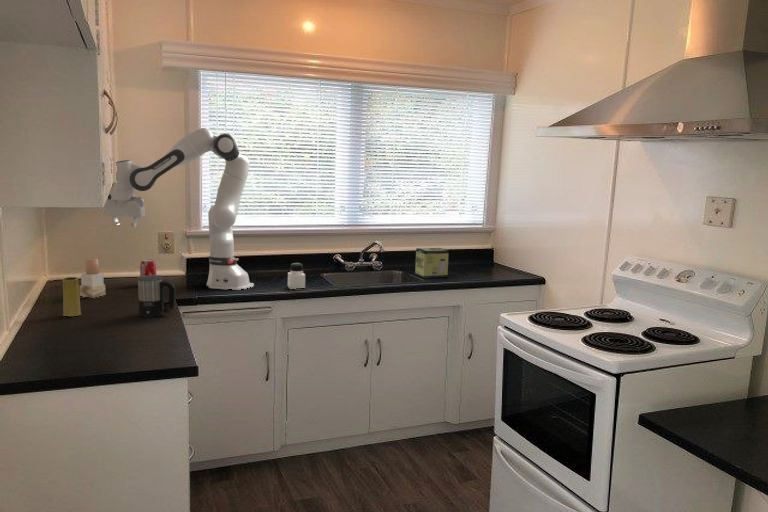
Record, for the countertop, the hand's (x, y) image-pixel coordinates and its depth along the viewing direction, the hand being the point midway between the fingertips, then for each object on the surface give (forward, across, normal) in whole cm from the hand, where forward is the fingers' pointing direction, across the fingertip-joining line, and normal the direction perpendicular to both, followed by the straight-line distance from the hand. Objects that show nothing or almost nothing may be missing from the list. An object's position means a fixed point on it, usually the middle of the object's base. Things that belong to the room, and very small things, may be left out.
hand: (125, 226), depth 272 cm
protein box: (+31, -121, -98) cm, 159 cm away
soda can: (+28, -6, -6) cm, 30 cm away
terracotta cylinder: (+18, -2, +22) cm, 29 cm away
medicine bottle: (+30, -69, -34) cm, 83 cm away
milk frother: (+28, -43, +33) cm, 61 cm away
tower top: (+23, -2, +23) cm, 32 cm away
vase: (+28, -19, +51) cm, 61 cm away
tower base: (+28, -2, +23) cm, 36 cm away
